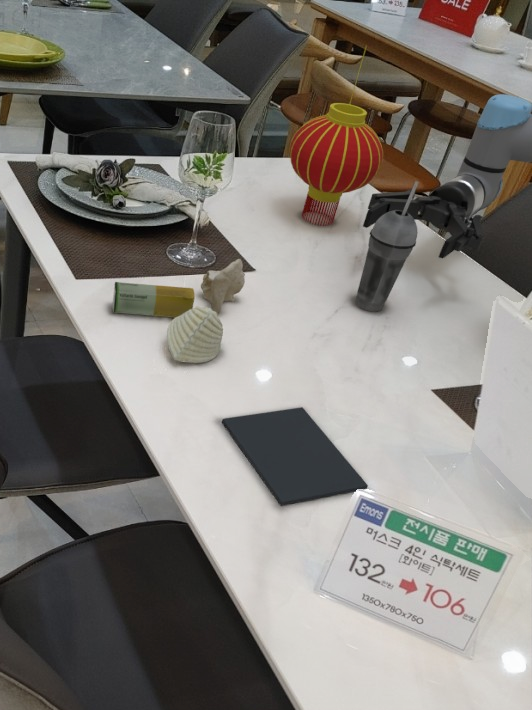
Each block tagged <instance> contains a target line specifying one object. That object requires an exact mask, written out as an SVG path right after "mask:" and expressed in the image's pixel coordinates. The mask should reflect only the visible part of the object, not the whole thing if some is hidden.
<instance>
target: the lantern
mask: <svg viewBox="0 0 532 710" xmlns="http://www.w3.org/2000/svg"><path fill="white" fill-rule="evenodd" d="M366 50H367V45H365V48H364V51H363V54H362V58H361V62H360V66H359V69H358V73H357V77H356V80H355V83H354V86H353V89H352V94H351V97H350V101H349V103H344V102H333V103H331V104H330V105H329V110H328V111H327V113H326V114H324V115H320V116H316V117H314V118H311V119H309V120H308V121H307V122H305V123H304V124H302V126H300V128H298V129H297V131H295V133H294V135H293V136H292V138H291V140H290V143H289V150H288V151H289V158H290V164H291V167H292V169H293V171H294V172H295V174H296V176H298V177H299V179H301V180H302V181H303V183H305V184H306V185H308V191H307V194H306V198H305V201H304V205H303V209H302V212H301V218H302V219H303V221H304V222H307V223H309V224H312V225H314V226H316V225H317V226H320V227H321V226H322V227H326V226H327V227H328V226H331V225H333V223H334V221H335V217H336V213H337V211H338V208H339V204H340V201H341V197H342V196H343V194H346V193H352V192H353V191H357V190H359V189H362V188H364V187H365V186H367V185H368V184H369V183H371V182H372V181H373V179H374V178H375V177H376V176H377V174H378V173H379V172H380V169H381V167H382V165H383V161H384V150H383V146H382V143H381V141H380V138H379V136H378V134H377V133H376V131H375V130H374V129H373V128H372V127H370V126H369V124H366V118H367V115H368V112H367V111H366V109H364V108H362V107H361V106H357V105H354V104H351V103H352V100H353V95H354V92H355V89H356V86H357V83H358V80H359V79H358V78H359V74H360V72H361V68H362V64H363V61H364V57H365V54H366V52H367V51H366Z"/></svg>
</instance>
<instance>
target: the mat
mask: <svg viewBox="0 0 532 710" xmlns="http://www.w3.org/2000/svg"><path fill="white" fill-rule="evenodd" d="M221 424H222V425H223V426H224V427H225V429H226V430H227V432H228V434H229V435H230V436H231V437H232V439H233V440H234V442H235V443H236V444H237V446H238V447H239V449H240V450H241V452H242V453H243V455H244V456H245V457H246V458H247V460H248V461H249V463H250V464H251V466H252V467H253V468H254V470H255V472H256V473H257V474H258V475H259V477H260V478H261V480H262V481H263V482H264V484H265V486H266V487H267V488H268V490H269V491H270V492H271V494H272V495H273V497H274V498H275V500H276V501H277V503H278V504H279V505H280V506H281V507H282V506H286V505H292V504H298V503H302V502H303V503H304V502H306V501H307V502H308V501H312V500H319V499H323V498H328V497H332V496H337V495H338V496H339V495H343V494H348V493H353V492H357V491H356V490H357V489H363V490H367V489H368V487H369V485H368V484H367V483H366V481H365V480H364V478H362V476H361V475H360V474H359V473H358V472H357V470H356V469H355V468H354V467H353V466H352V464H351V463H350V462H349V461H348V460H347V459H346V457H345V456H344V455H343V454H342V452H340V450H339V448H337V447H336V445H335V444H334V443H333V442H332V441H331V439H330V438H329V437H328V436H327V434H326V433H325V432H324V431H323V430H322V429H321V427H320V426H319V425H318V424H317V423H316V421H315V420H314V419H313V418H312V417H311V415H310V414H309V413H308V411H306V410H305V408H304V407H303V406H301V407H294V408H288V409H281V410H276V411H274V410H273V411H267V412H260V413H253V414H246V415H240V416H232V417H225V418H222V421H221ZM363 490H362V491H363Z"/></svg>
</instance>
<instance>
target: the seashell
mask: <svg viewBox="0 0 532 710" xmlns="http://www.w3.org/2000/svg"><path fill="white" fill-rule="evenodd" d="M223 325H224V324H223V323H222V321H221V319H220V317H219V313H218V314H217V313H216V312H215V311H213V309H212V308H211V307H206V306H196V307H193V308H192V309H190V310H188V311H187V312H185V313H183V314H182V315H180V316H178V317H173V319H171V321H170V322H169V324H168V327H167V330H166V339H167V344H168V349H169V352H170V354H171V356H172V359H173V360H174V361H176V362H182V363H191V364H197V363H207V362H209V361H211V360H213V359H215V358H216V357H217V356H218V355H219V354H220V351H221V344H222V340H223V335H224V327H223Z"/></svg>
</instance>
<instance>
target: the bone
mask: <svg viewBox="0 0 532 710" xmlns="http://www.w3.org/2000/svg"><path fill="white" fill-rule="evenodd" d="M243 267H244V264H243V261H242V259H241V258H237V259H235V261H232V262H230V263H229V264H228V265H227V266H225V268H223V269H221V270H211V269H210V270H207V272H206V273H204V274H203V276H202V277H203V278H202V283H201V284H200V289H201V290H202V293H203V295H202V297H203V299H206V301H208V302H209V303H210V304H211V309H212V310H213V311H215V312H216V313H217V314H218V315H219V313H220V312H221V309H222V306H223V303H224V302H235V301H236V299H235V298H234V296H235V295H237V294H239V293H240V292H241V291H242V289H243V288H244V285H245V282H246V279H245V276H246V273H244V270H243Z"/></svg>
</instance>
